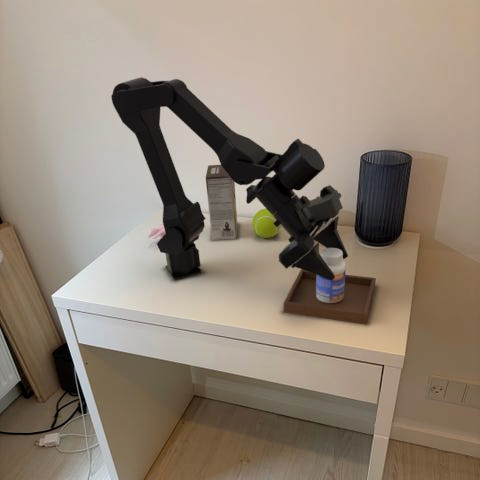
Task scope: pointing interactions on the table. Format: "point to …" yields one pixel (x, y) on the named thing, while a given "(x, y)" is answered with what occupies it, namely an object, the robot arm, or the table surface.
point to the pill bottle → (332, 288)
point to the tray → (347, 309)
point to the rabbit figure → (157, 232)
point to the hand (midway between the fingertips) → (339, 267)
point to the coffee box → (221, 203)
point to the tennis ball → (264, 224)
